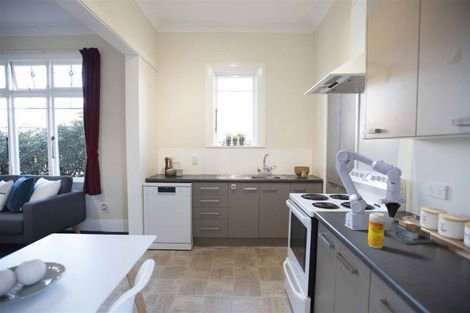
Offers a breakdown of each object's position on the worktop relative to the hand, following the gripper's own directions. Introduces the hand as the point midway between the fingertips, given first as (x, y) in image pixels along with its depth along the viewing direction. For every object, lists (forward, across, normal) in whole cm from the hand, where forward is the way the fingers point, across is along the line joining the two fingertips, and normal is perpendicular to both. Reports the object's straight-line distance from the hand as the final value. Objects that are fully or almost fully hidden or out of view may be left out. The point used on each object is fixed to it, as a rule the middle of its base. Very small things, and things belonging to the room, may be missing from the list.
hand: (391, 217), depth 124 cm
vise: (+9, +6, -5) cm, 12 cm away
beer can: (+10, -18, -11) cm, 23 cm away
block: (+8, +8, -5) cm, 12 cm away
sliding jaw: (+8, +4, -5) cm, 10 cm away
